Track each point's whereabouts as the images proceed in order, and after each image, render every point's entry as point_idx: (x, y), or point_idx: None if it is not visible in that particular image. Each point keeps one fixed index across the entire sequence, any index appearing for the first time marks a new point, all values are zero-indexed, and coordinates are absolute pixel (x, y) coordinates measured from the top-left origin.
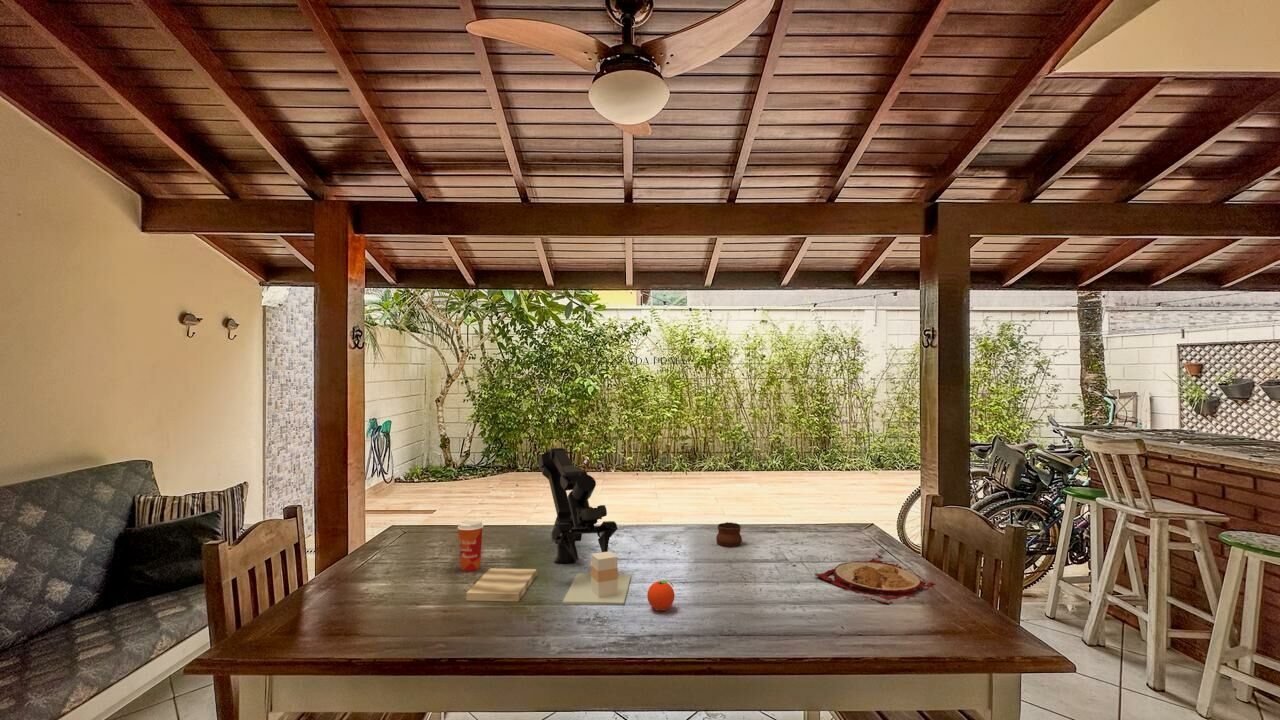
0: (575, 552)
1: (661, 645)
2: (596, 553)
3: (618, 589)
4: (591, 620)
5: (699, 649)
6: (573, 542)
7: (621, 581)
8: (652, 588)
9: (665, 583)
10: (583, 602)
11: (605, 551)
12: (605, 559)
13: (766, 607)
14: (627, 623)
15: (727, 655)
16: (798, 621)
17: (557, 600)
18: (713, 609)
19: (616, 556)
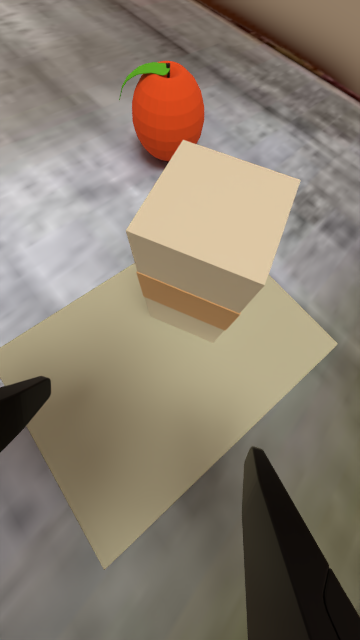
0: (279, 487)
1: (285, 87)
2: (228, 263)
3: None
4: (325, 218)
5: (250, 54)
6: (334, 635)
7: (78, 328)
8: (196, 91)
9: (163, 61)
10: (287, 295)
11: (19, 391)
12: (252, 170)
13: (33, 46)
14: (272, 161)
15: (235, 30)
16: (65, 9)
17: (331, 381)
18: (99, 93)
19: (182, 145)
